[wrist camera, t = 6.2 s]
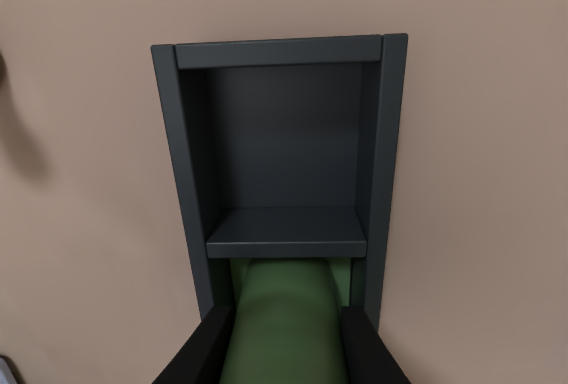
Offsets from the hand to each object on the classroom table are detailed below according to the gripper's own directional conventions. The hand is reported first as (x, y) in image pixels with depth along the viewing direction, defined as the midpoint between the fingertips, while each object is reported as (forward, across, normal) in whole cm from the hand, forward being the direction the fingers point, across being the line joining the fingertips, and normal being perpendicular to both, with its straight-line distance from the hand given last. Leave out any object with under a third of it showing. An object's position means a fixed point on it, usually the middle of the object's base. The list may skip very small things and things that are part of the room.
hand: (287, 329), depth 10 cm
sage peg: (+3, 0, 0) cm, 3 cm away
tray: (+3, 0, -3) cm, 4 cm away
